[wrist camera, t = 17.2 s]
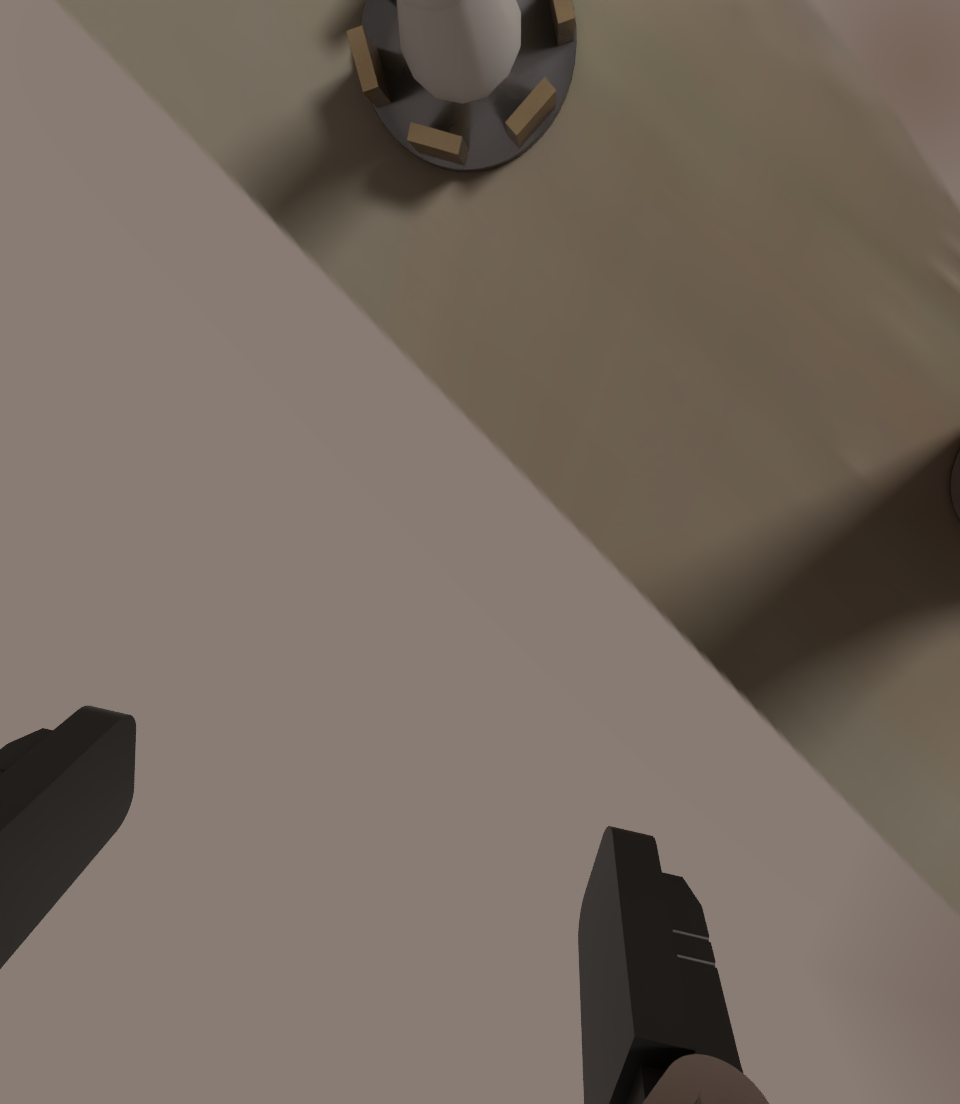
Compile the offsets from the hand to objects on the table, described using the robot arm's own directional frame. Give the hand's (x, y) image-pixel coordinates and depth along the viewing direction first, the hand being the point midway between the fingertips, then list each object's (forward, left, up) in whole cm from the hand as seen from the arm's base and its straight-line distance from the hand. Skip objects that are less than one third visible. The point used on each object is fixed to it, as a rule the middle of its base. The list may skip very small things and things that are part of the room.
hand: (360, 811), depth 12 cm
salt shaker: (+6, -20, -32) cm, 38 cm away
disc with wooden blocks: (+6, -20, -33) cm, 39 cm away
